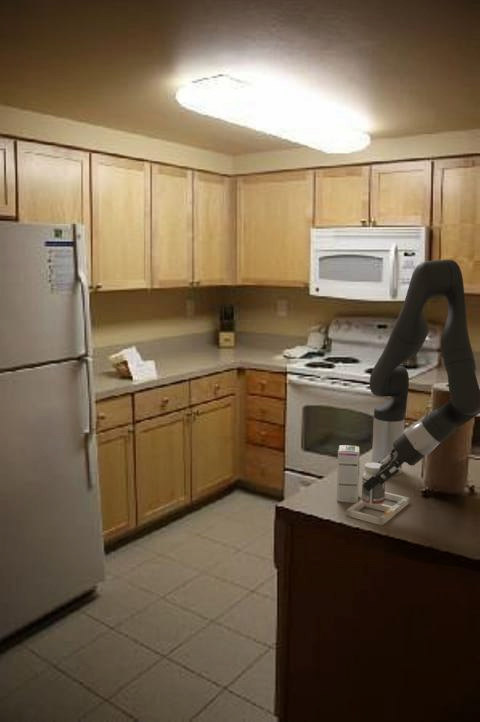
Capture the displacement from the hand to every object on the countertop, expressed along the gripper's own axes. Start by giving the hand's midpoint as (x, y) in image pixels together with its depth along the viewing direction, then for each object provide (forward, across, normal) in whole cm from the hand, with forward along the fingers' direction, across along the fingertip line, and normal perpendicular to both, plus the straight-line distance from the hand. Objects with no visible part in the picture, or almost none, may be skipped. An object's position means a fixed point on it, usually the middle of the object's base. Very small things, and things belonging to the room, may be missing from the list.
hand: (366, 483), depth 162 cm
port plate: (+4, -4, +8) cm, 10 cm away
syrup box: (+10, -9, +2) cm, 14 cm away
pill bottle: (+2, 0, +5) cm, 5 cm away
